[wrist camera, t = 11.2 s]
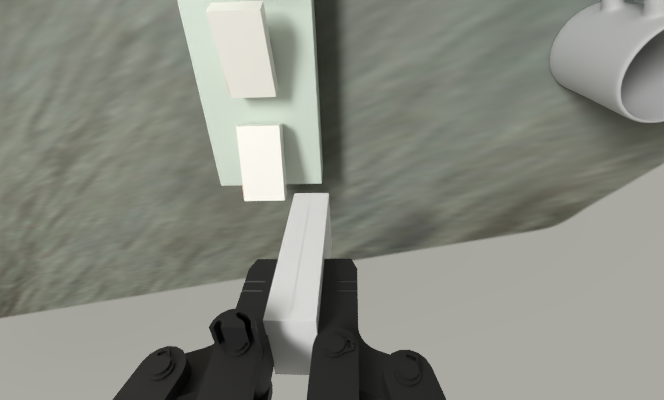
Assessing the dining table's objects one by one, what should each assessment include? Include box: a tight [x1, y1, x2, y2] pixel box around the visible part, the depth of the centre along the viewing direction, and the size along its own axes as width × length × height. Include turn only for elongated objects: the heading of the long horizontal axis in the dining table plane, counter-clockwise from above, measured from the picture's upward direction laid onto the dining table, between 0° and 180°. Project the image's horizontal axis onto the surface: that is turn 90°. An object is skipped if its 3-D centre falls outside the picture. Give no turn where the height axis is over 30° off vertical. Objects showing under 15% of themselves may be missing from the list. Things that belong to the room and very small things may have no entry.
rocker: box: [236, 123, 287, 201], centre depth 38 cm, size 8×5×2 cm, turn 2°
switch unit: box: [177, 0, 323, 186], centre depth 35 cm, size 30×12×5 cm, turn 2°
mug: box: [550, 0, 664, 123], centre depth 31 cm, size 12×8×11 cm
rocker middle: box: [206, 1, 278, 98], centre depth 32 cm, size 8×5×2 cm, turn 2°
